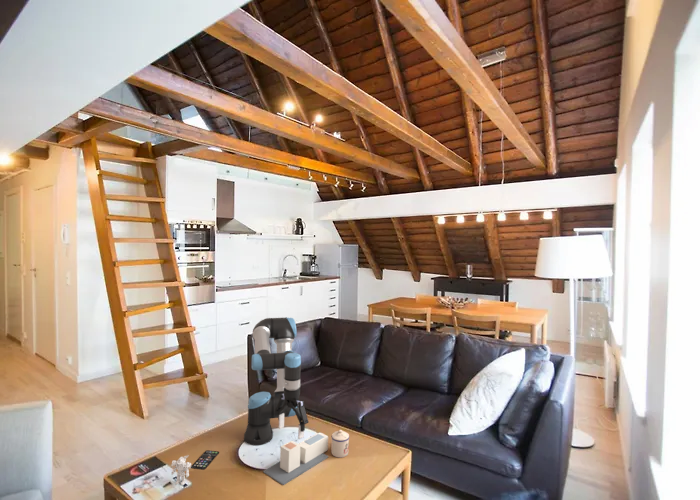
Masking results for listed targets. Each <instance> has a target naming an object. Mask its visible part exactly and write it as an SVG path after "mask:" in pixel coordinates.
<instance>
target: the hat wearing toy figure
mask: <svg viewBox="0 0 700 500" xmlns="http://www.w3.org/2000/svg"><path fill="white" fill-rule="evenodd" d="M189 456H190V455H189V454H187V455H184V456H180V457H179V458H178V459H177V460H175V459H174V460H172V462H171V464H170V466H171V468H172V470H171V474H170V475H171V476H173V475H174V474H175V473H176V470H177V475H176V480H175V485H180V486H183V485H185V484H186V478H188V477H189V476H190V471H189V469H192V468H191V466H192V463H191V462H190V461H187V458H188V457H189ZM186 461H187V462H186Z"/></svg>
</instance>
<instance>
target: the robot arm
mask: <svg viewBox="0 0 700 500" xmlns="http://www.w3.org/2000/svg"><path fill="white" fill-rule="evenodd" d="M297 331H298V330H297V325H296V321H295V319H294V318H293V317H267V318H264V319H261V320H260V321H259V322H257V323H256V324H255V325H254V327H253V329H252V339H254V354H252V355H251V369H252V370H253V371H265V370H266V371H267V370H268V371H269V370H276V389H275V390H274V392H273V394H272V395H271V393H270V392H269V391H259V392H256V393H254V394H252V395H251V396H249V397H248V403H247V409H248V410H247V426H246V429H245V431H244V433H243V441H244V442H245V443H246V444H248V445H251V446H261V445H262V446H263V445H265V444H267V443H269V442H270V441H272V440H273V437H274V431H273V428H272V425H271V419H277V420H278V429H279V430H281V429H283V428H285V418H289V417H294V416H296V418H297V420H298V422H299V424H298V431H297V433H298V436H297V438H298V440H300V439H302V438H304V436H305V430H306V425H307V424H308V423H309V419H308V416H307V415H308V414H307V412H306V408H305V401H304V400H299V398H300V395H301V367H302V365H301V364H302V356H301V354H300V353H297V352H294V350H293V349H292V347H293V345H292V344H293V342H294V341H295V338H297V333H298V332H297ZM270 339H273V342H274V343H275V344H276V352H275V353H274V352H271V345H270Z"/></svg>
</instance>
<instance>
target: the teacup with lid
mask: <svg viewBox="0 0 700 500" xmlns="http://www.w3.org/2000/svg"><path fill="white" fill-rule="evenodd" d="M349 441H350V434H349V433H348V432H347V431H344V430H342V429H339V430H336V431H334V432H333V433H332V434H331V455H332V456H334V457H336V458H345V457H347V456H348V455H349V447H350V446H349V444H350V442H349Z"/></svg>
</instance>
